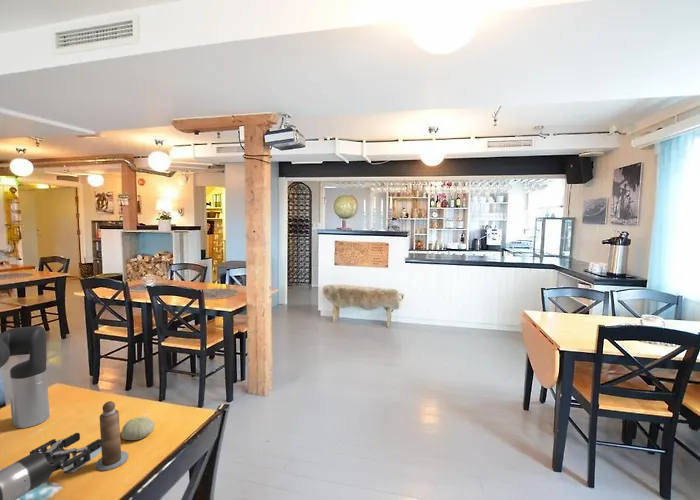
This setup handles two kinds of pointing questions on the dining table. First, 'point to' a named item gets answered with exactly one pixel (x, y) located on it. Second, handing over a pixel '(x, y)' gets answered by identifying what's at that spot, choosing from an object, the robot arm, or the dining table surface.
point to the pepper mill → (110, 434)
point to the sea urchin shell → (137, 428)
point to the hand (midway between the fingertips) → (89, 439)
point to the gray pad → (104, 468)
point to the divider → (90, 457)
